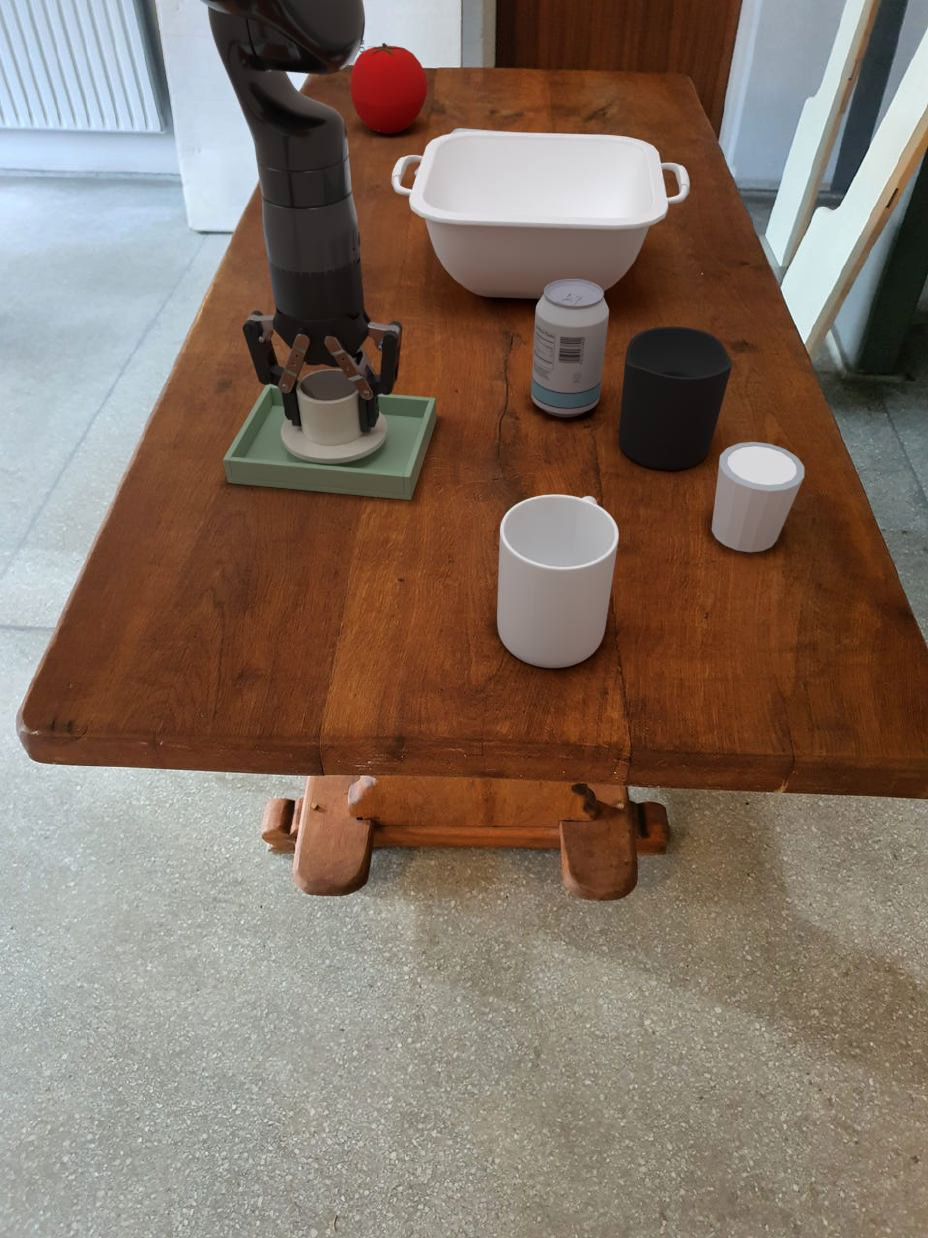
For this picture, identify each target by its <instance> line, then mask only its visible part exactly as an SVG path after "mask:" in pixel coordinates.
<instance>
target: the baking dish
mask: <svg viewBox="0 0 928 1238" xmlns="http://www.w3.org/2000/svg"><path fill="white" fill-rule="evenodd" d="M413 163H420V164H419V166H420V167H419V166H418V167H419V170H418V173H417V176H415V179H414V182H413V185H412V188H411V189H410V188H405V187H404V186H402V180H403V177H404V175H405V173H406V172H407V169H408V166H409V165H411V164H413ZM393 167H394V168H393V169H392V172H391V186H392V187H393V191H394V192H395V193H396V194H398V195H401V196H408V203H409V208H410V210H411V211H412V212H414V213H415V214H416V215H417V216H419V217H420V218H422V219H424V220H425V224H426V228H427V231H428V232H427V233H428V235H429V239H430V242H431V244H432V247H433V251H434V253H435V255H436V257H437V258H438V260H439V261H440V263H441V265H442V266H443V268H444V269H445V271H446V272H447V273H448V274H449V275H450V276H451V277H452V279H453V280H454V281H456V282H457V283H458V284H460V285H461V286H462V287H464V289H466V290H468V291H469V292H471V293H473V294H475V295H478V296H481V297H485V298H502V299H503V298H504V299H525V300H526V299H529V300H530V299H531V300H540V299H541V297H542V296H543V294H544V289H545V287H546V286H547V285H548V284H550V283H552V282H555V281H558V280H563V279H580V280H586V281H589V282H592V283H595V284H596V285H598V286H599V287H601V288H602V290H603V292H605V291H607V290H608V289H610V288H612V287H614V286H615V284H617V283H618V282H619V281H620V280H621V279H622V278H623V277H624V276H625V275H626V274H627V272H628V271H629V270H630V268H631V267H632V265H634V263H635V262H636V260H637V257H638V255H639V253H640V251H641V249H642V248H643V244H644V242H645V238H646V237H647V234H648V232H649V229H650V227H651V226H654V225H656V224H657V223H659V222H661V221H662V220H664V219H666V217H667V214H668V210H669V205H675V204H680V203H683V202H684V201H685V200H686V198H687V197H688V196H689V194H690V187H691V185H690V184H691V182H690V177H689V174H688V170H687V169H686V168H685V166H683V165H680V164H679V163H675V162H662V163H661V157H660V152H659V151H658V150H657V149H656V146H654V145H653V144H650V143H648V142H647V141H644V140H641V139H637V138H634V137H630V136H625V135H624V136H622V135H614V134H613V135H612V134H586V133H585V134H584V133H554V132H553V133H549V132H517V131H504V132H483V131H474V132H458V133H452V134H450V133H448V134H447V133H446V134H443V135H440V136H438V137H435V138H433V139H432V140H431V141H430V142H429V143H428V144H426V146H425V149H424V152H423V155H417V154H416V155H415V154H409V155H406V156H402V157H399V158H398V160H397V161H396V163H395V165H394V166H393ZM663 170H665V171H666V170H667V171H671V172H673V173H674V174H675V178H676V179H675V180H676V182H677V185H678V191H679V194H677V195H675V196H671V197H670V196H669V197H667V191H666V184H665V180H664V174H663Z"/></svg>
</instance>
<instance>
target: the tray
mask: <svg viewBox="0 0 928 1238" xmlns="http://www.w3.org/2000/svg"><path fill="white" fill-rule="evenodd" d="M378 401H379V412H381V413H382V415H383V416H384V417H385V419H386V421H387V428H388V433H387V437H386V439H385V441H384V443H383V444H382V445H381V446H380V447H379V448H378V449H377V450H375V451H374V452H373V453H371V454H369V455H367V456H365V457H363V458H360V459H357V460H354V461H350V462H344V463H336V464H323V463H314V462H310V461H306V460H303V459H300V458H298V457H296V456H294V455H293V454H291V453H290V452H289V451H288V450H287V449H286V448H285V447H284V445H283V443H282V439H281V427H282V425H283V423H284V421H285V420H286V419H287V418H286V416H285V412H284V405H283V399H282V393H281V390H280V389H279V388H278V387H277V386H275V385H272V384H269V385H264V388H263V390H262V391H261V393H260V394H259V396H258V398H257V400H256V401H255V403H254V405H253V406H252V409H251V411H250V412H249V414H248V415H247V417H246V419H245V421H244V422H243V424H242V426H241V427H240V428H239V431H238V433H237V434H236V436H235V438H234V439H233V441H232V443H231V445H230V446H229V448H228V450H227V452H226V453H225V455H224V457H223V459H222V463H223V467H224V473H225V476H226V482H227V484H233V485H234V484H235V485H247V486H256V487H265V488H266V487H267V488H276V489H277V488H278V489H289V490H300V491H307V492H308V491H310V492H318V493H319V492H320V493H330V494H340V495H341V494H342V495H349V496H352V495H353V496H361V497H371V498H372V497H373V498H384V499H393V500H394V499H395V500H404V501H412V498H413V496H414V492H415V490H416V486H417V483H418V479H419V477H420V473H421V469H422V467H423V464H424V461H425V458H426V454H427V451H428V448H429V444H430V441H431V439H432V435H433V432H434V429H435V426H436V423H437V398H436V397H429V396H428V397H427V396H418V395H417V396H415V395H405V394H404V395H402V394H393V393H391V394H390V395H383V394H379V395H378Z"/></svg>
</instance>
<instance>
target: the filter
mask: <svg viewBox="0 0 928 1238" xmlns="http://www.w3.org/2000/svg"><path fill="white" fill-rule="evenodd" d="M298 381H299V382H298V383H297V386H296V392H297V399H298V406H299V413H300V419H301V427H297V426H292V421H291V420H288V419H286V420H285V421H284V423H283V425H282V427H281V439H282V443H283V445H284V447H285V448H286V449H287V450H288V451H289V452H290V453H291V454H293V455H294V456H296V457H298V458H300V459H303V460H306V461H310V462H314V463H323V464H336V463H344V462H350V461H354V460H357V459H360V458H363V457H365V456H367V455H369V454H371V453H373V452H374V451H375V450H377V449H378V448H379V447H380V446H381V445H382V444H383V443H384V441H385V439H386V437H387V433H388V428H387V421H386V419H385V417H384V416H383V415H382V413H381V412H379V418H378V420H377V423H376V425H375V428H373V427H372V428H371V431H370V433H363V432H361V423H360V412H359V402H358V399H359V397H360V394H359V392H358V390H357V389H356V387H355V385H354V384H353V382H352V381H351V380H348V379H347V377H346V376H345V374H344V372H343V371H342V369H341V368H340V369H339V368H326V369H320V370H316V371H311V372H309V373H308V374H306V375H304V376H303V377H302V378H300V380H298Z"/></svg>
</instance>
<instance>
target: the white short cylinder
mask: <svg viewBox="0 0 928 1238" xmlns="http://www.w3.org/2000/svg"><path fill="white" fill-rule="evenodd" d="M718 461H719V462H718V470H717V478H716V486H715V487H716V488H715V496H714V504H713V512H712V513H713V514H712V520H711V532H712V534H713V536H714V538H715V539H716V540H717V541H718V542H720V543H721V544H722V545H724V546H725V547H728V548H729V549H732V550H735V551H737V552H738V551H739V552H745V553H756V552H764V551H766V550H768V549H770V548H772V547H773V546H774V545H775V543H776V542H777V541H778V539H779V536H780V535H781V532H782V529H783V527H784V526H785V522H786V520H787V518H788V516H789V513H790V511H791V509H792V506H793V504H794V502H795V499H796V497H797V494H798V492H799V490H800V488H801V485H802V483H803V481H804V478H805V466H804V464H803V463H802V462H801V460H800V458H799V457H798V456H796V455H795V454H793V453H792V452H791V451H789V450H788V449H786V448H783V447H780V446H777V445H774V444H772V443H766V442H758V441H750V442H749V441H748V442H739V443H736V444H733V445H731V446H729V447H726V449H724V450H723V451H722V453H721V454H720V455H719V460H718Z"/></svg>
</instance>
